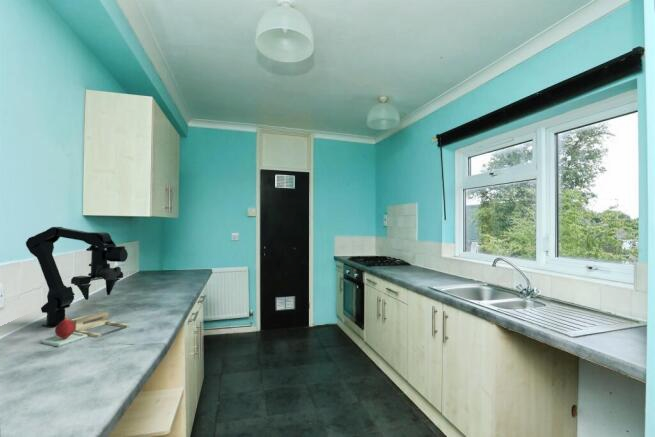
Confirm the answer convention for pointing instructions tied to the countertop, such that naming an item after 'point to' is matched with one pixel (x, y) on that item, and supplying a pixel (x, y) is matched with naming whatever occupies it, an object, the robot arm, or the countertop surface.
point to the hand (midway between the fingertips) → (97, 297)
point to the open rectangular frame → (95, 323)
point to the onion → (65, 328)
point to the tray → (61, 342)
